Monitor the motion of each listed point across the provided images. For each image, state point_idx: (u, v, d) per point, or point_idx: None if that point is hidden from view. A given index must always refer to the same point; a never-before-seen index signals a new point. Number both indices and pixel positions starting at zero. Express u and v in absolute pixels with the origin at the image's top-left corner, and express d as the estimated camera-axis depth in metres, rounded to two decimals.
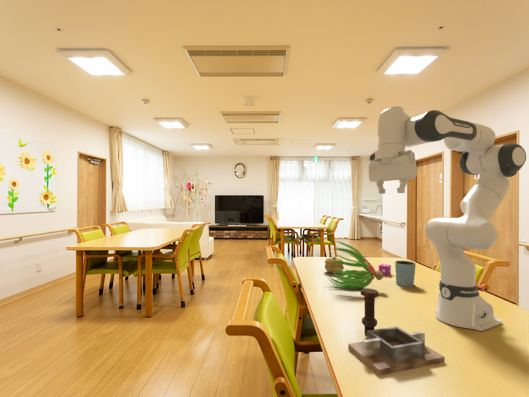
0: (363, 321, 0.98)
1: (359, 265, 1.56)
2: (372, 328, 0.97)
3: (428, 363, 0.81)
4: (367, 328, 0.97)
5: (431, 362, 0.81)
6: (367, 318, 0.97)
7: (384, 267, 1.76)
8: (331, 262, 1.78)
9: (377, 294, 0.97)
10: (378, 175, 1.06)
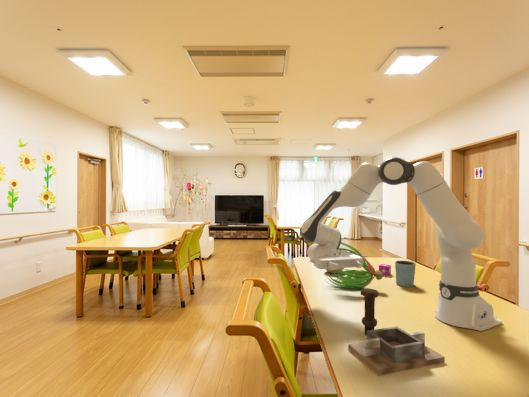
0: (363, 321, 0.98)
1: None
2: (372, 328, 0.97)
3: (428, 363, 0.81)
4: (367, 328, 0.97)
5: (431, 362, 0.81)
6: (367, 318, 0.97)
7: (384, 267, 1.76)
8: None
9: (377, 294, 0.97)
10: None
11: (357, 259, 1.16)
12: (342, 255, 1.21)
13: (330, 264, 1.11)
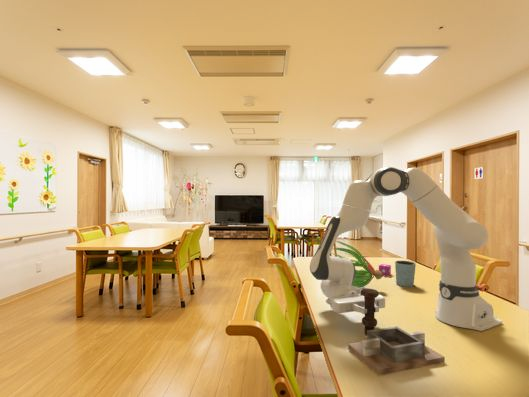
0: (363, 321, 0.98)
1: (358, 264, 1.57)
2: (372, 328, 0.97)
3: (428, 363, 0.81)
4: (367, 328, 0.97)
5: (431, 362, 0.81)
6: (367, 318, 0.97)
7: (384, 267, 1.76)
8: None
9: (377, 294, 0.97)
10: None
11: (379, 300, 1.04)
12: None
13: (355, 307, 0.99)
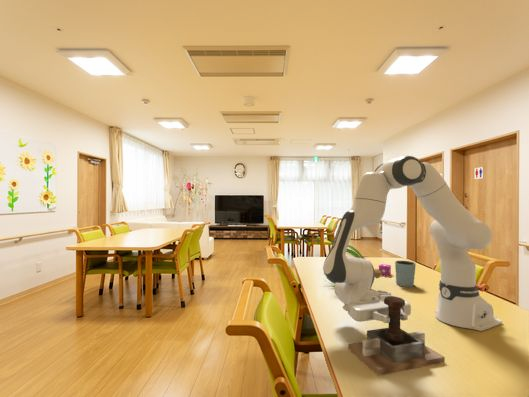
0: (387, 334, 0.85)
1: None
2: (398, 342, 0.84)
3: (428, 363, 0.81)
4: (392, 342, 0.85)
5: (431, 362, 0.81)
6: (392, 331, 0.85)
7: (384, 267, 1.76)
8: None
9: (403, 303, 0.84)
10: None
11: (403, 306, 0.91)
12: (382, 299, 0.96)
13: (376, 315, 0.86)
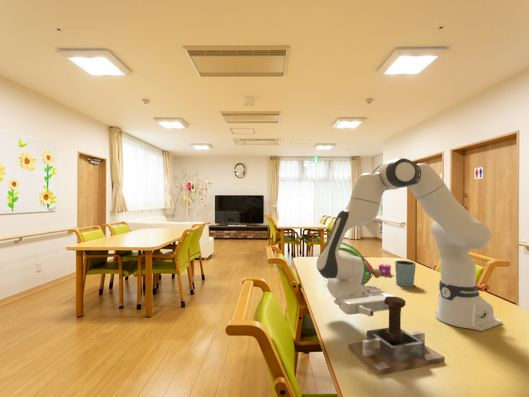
0: (387, 334, 0.85)
1: None
2: (398, 342, 0.84)
3: (428, 363, 0.81)
4: (392, 342, 0.85)
5: (431, 362, 0.81)
6: (392, 331, 0.85)
7: (384, 267, 1.76)
8: None
9: (404, 303, 0.84)
10: None
11: None
12: (372, 294, 1.01)
13: (360, 309, 0.91)
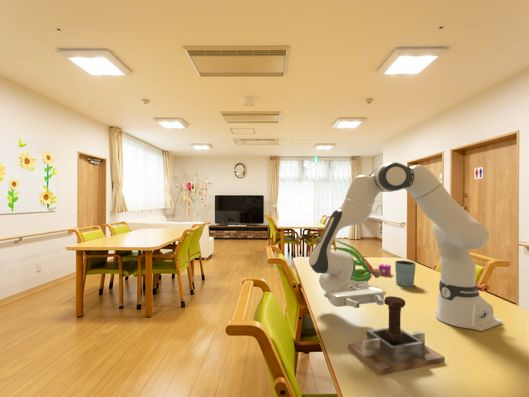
0: (387, 334, 0.85)
1: (356, 264, 1.59)
2: (398, 342, 0.84)
3: (428, 363, 0.81)
4: (392, 342, 0.85)
5: (431, 362, 0.81)
6: (392, 331, 0.85)
7: (384, 267, 1.76)
8: None
9: (404, 303, 0.84)
10: None
11: (377, 293, 1.03)
12: (360, 288, 1.08)
13: (348, 301, 0.98)
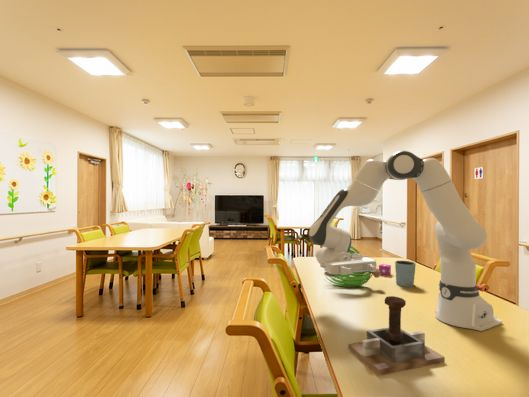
0: (387, 334, 0.85)
1: None
2: (398, 342, 0.84)
3: (428, 363, 0.81)
4: (392, 342, 0.85)
5: (431, 362, 0.81)
6: (392, 331, 0.85)
7: (384, 267, 1.76)
8: None
9: (404, 303, 0.84)
10: None
11: (370, 262, 1.10)
12: (353, 258, 1.15)
13: (342, 269, 1.05)
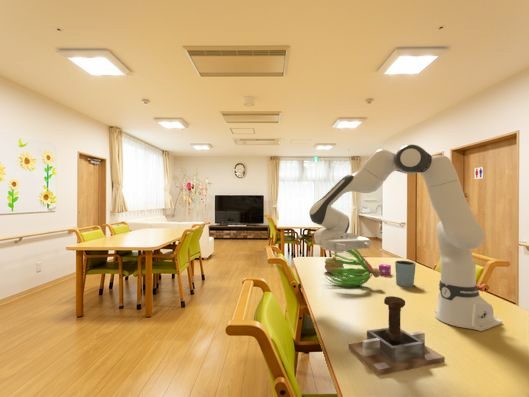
0: (387, 334, 0.85)
1: (356, 263, 1.60)
2: (398, 342, 0.84)
3: (428, 363, 0.81)
4: (392, 342, 0.85)
5: (431, 362, 0.81)
6: (392, 331, 0.85)
7: (384, 267, 1.76)
8: (331, 262, 1.78)
9: (404, 303, 0.84)
10: None
11: (365, 241, 1.15)
12: (349, 237, 1.20)
13: (338, 245, 1.10)
